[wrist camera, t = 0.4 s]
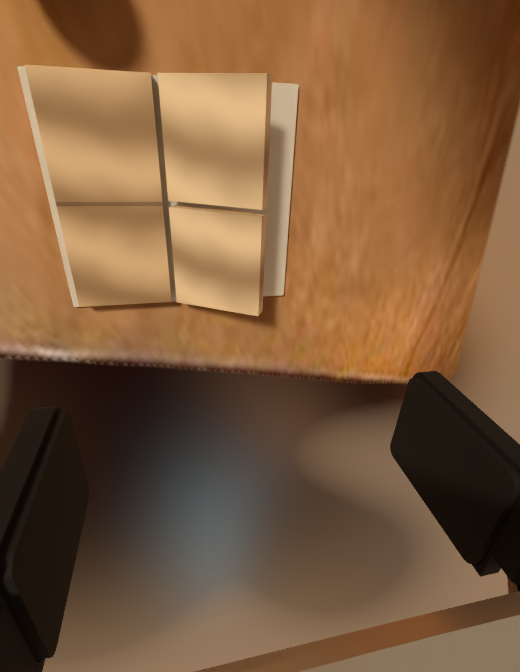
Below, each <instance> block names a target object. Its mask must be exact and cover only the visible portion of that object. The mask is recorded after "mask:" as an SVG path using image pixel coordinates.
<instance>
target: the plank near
mask: <svg viewBox="0 0 520 672" xmlns="http://www.w3.org/2000/svg"><path fill="white" fill-rule="evenodd" d="M158 85H159V97H160V109H161V121H162V133H163V145H164V157H165V168H166V180H167V192H168V201H176V202H186V203H196V204H207V205H217V206H227V207H237V208H247V209H257V210H263V209H265V208H266V207H267V190H268V166H269V142H270V118H271V94H272V75H270V74H268V73H158Z"/></svg>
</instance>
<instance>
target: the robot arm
mask: <svg viewBox="0 0 520 672" xmlns="http://www.w3.org/2000/svg"><path fill="white" fill-rule="evenodd" d="M390 449H391V453H392V456H393V457H394V459H395V460H396V461H397V463H398V465H399V466H400V468H401V469H402V471H403V472H404V473H405V475H406V476H407V478H408V479H409V481H410V482H411V483H412V485H413V486H414V488H415V489H416V491H417V492H418V494H419V495H420V497H421V498H422V499H423V501H424V502H425V504H426V505H427V507H428V508H429V509H430V511H431V513H432V514H433V515H434V517H435V518H436V520H437V521H438V523H439V524H440V525H441V527H442V528H443V530H444V531H445V533H446V534H447V535H448V537H449V539H450V540H451V541H452V543H453V544H454V546H455V547H456V549H457V550H458V552H459V553H460V554H461V556H462V557H463V559H464V560H465V561H466V562H468V563H470V564H472V565H473V567H474V568H475V569H476V571H477V572H478V574H479V575H480V576H484V575H488V574H493V573H497V572H499V570H500V569H501V568H502V570H503V571H504V572H505V574H506V575H507V579H508V594H507V595H503V596H499V597H495V598H491V599H486V600H482V601H478V602H474V603H470V604H465V605H461V606H457V607H453V608H449V609H445V610H440V611H436V612H432V613H429V614H424V615H420V616H416V617H412V618H408V619H404V620H400V621H396V622H392V623H387V624H383V625H380V626H375V627H371V628H367V629H363V630H359V631H355V632H351V633H347V634H343V635H339V636H335V637H331V638H327V639H323V640H319V641H315V642H311V643H307V644H302V645H298V646H295V647H290V648H287V649H283V650H279V651H275V652H271V653H267V654H263V655H259V656H255V657H251V658H247V659H243V660H239V661H235V662H231V663H227V664H223V665H219V666H215V667H211V668H207V669H203V670H200V671H195V672H520V445H519V444H518V443H517V442H516V441H515V440H514V439H513V438H512V437H511V436H509V435H508V434H507V433H506V432H505V431H504V430H503V429H501V428H500V427H499V426H498V425H497V424H496V423H495V422H494V421H493V420H491V419H490V418H489V417H488V416H487V415H486V414H485V413H484V412H483V411H481V410H480V409H479V408H478V407H477V406H476V405H475V404H474V403H472V402H471V401H470V400H469V399H468V398H467V397H466V396H465V395H463V394H462V393H461V392H460V391H459V390H458V389H457V388H456V387H455V386H453V385H452V384H451V383H450V382H449V381H448V380H447V379H446V378H444V377H443V376H442V375H441V374H440V373H438V372H436V371H430V372H419V373H416V374H415V375H414V376H413V378H411V379H410V380H409V382H408V386H407V389H406V393H405V396H404V400H403V403H402V406H401V410H400V414H399V417H398V420H397V424H396V428H395V431H394V434H393V438H392V441H391V445H390ZM88 497H89V488H88V483H87V479H86V475H85V471H84V467H83V463H82V459H81V455H80V451H79V447H78V443H77V439H76V435H75V432H74V427H73V424H72V420H71V416H70V413H69V412H68V411H65V412H64V411H63V412H62V410H61V408H60V407H59V406H53V407H42V408H33V409H31V411H30V412H29V415H28V416H27V418H26V420H25V422H24V424H23V426H22V429H21V431H20V432H19V435H18V437H17V439H16V441H15V443H14V445H13V447H12V449H11V451H10V453H9V455H8V457H7V459H6V461H5V463H4V465H3V467H2V468H1V469H0V672H42V670H43V666H44V661H45V658H50V657H53V655H54V653H55V651H56V647H57V643H58V638H59V633H60V629H61V624H62V620H63V615H64V610H65V606H66V601H67V597H68V592H69V587H70V582H71V578H72V573H73V569H74V564H75V559H76V555H77V550H78V545H79V541H80V536H81V532H82V527H83V522H84V518H85V513H86V508H87V504H88Z"/></svg>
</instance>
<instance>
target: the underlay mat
mask: <svg viewBox="0 0 520 672" xmlns="http://www.w3.org/2000/svg"><path fill="white" fill-rule="evenodd" d="M17 68H18V72H19V76H20V80H21V85H22V89H23V93H24V97H25V102H26V106H27V110H28V114H29V119H30V123H31V127H32V131H33V136H34V140H35V144H36V148H37V153H38V157H39V161H40V166H41V170H42V174H43V178H44V183H45V187H46V191H47V195H48V200H49V204H50V208H51V212H52V217H53V221H54V225H55V229H56V234H57V238H58V242H59V246H60V251H61V255H62V259H63V264H64V268H65V272H66V276H67V281H68V285H69V289H70V293H71V298H72V302H73V306H74V307H79V303H78V299H77V295H76V290H75V286H74V281H73V277H72V272H71V268H70V264H69V259H68V255H67V250H66V246H65V242H64V237H63V233H62V228H61V224H60V219H59V215H58V211H57V206H56V202H55V197H54V193H53V189H52V184H51V180H50V175H49V171H48V166H47V162H46V158H45V153H44V149H43V144H42V140H41V136H40V131H39V127H38V122H37V118H36V113H35V109H34V105H33V100H32V96H31V91H30V87H29V83H28V78H27V74H26V69H25V67H24V66H17ZM151 76H152V87H153V98H154V109H155V120H156V131H157V142H158V153H159V164H160V175H161V187H162V198H163V209H164V220H165V231H166V242H167V253H168V264H169V275H170V286H171V298H172V301H177V300H176V288H175V276H174V264H173V252H172V240H171V228H170V216H169V207H171V206H174V205H184V206H193V207H203V208H213V209H223V210H233V211H243V212H253V213H263V214H266V238H265V262H264V286H263V296H279V295H284V283H285V269H286V255H287V241H288V227H289V213H290V199H291V185H292V170H293V156H294V142H295V128H296V114H297V100H298V86H299V84H288V83H273V82H272V94H271V118H270V142H269V166H268V190H267V207H266V208H265V209H263V210H257V209H247V208H237V207H227V206H217V205H207V204H196V203H186V202H176V201H168V192H167V180H166V168H165V157H164V145H163V133H162V121H161V109H160V97H159V85H158V75H151Z"/></svg>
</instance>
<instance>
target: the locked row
mask: <svg viewBox="0 0 520 672" xmlns="http://www.w3.org/2000/svg"><path fill="white" fill-rule="evenodd" d="M25 69H26V74H27V78H28V83H29V87H30V91H31V96H32V100H33V105H34V109H35V113H36V118H37V122H38V127H39V131H40V136H41V140H42V144H43V149H44V153H45V158H46V162H47V166H48V171H49V175H50V180H51V184H52V189H53V193H54V197H55V202H56V206H57V211H58V215H59V219H60V224H61V228H62V233H63V237H64V242H65V246H66V250H67V255H68V259H69V264H70V268H71V272H72V277H73V281H74V286H75V290H76V295H77V299H78V303H79V307H88V306H106V305H124V304H141V303H159V302H172V298H171V286H170V275H169V264H168V253H167V242H166V231H165V220H164V209H163V198H162V187H161V175H160V164H159V153H158V142H157V131H156V120H155V109H154V98H153V87H152V76H151V73H146V72H130V71H115V70H100V69H84V68H69V67H54V66H38V65H25Z"/></svg>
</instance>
